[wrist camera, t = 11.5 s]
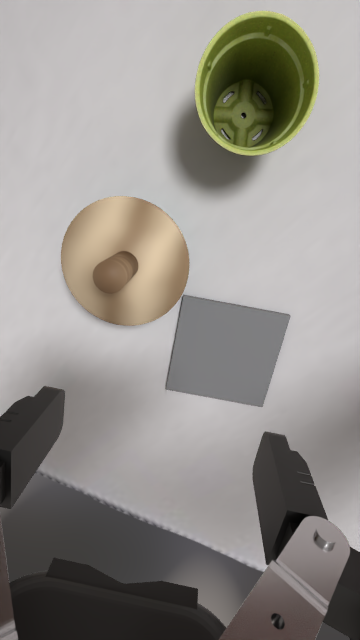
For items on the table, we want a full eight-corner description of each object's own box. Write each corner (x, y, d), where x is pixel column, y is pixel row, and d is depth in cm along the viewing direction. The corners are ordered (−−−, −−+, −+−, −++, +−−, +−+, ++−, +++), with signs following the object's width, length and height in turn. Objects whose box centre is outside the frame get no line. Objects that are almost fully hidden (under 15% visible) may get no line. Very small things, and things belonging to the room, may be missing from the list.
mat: (289, 314, 40) (290, 316, 39) (261, 404, 44) (262, 407, 44) (183, 294, 40) (183, 296, 39) (166, 387, 44) (165, 389, 44)
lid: (200, 210, 32) (201, 211, 25) (177, 333, 36) (172, 360, 30) (68, 184, 32) (34, 179, 25) (60, 310, 36) (30, 333, 30)
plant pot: (176, 116, 34) (169, 88, 26) (247, 35, 31) (264, -25, 23) (237, 186, 36) (249, 181, 27) (308, 115, 33) (345, 85, 25)
